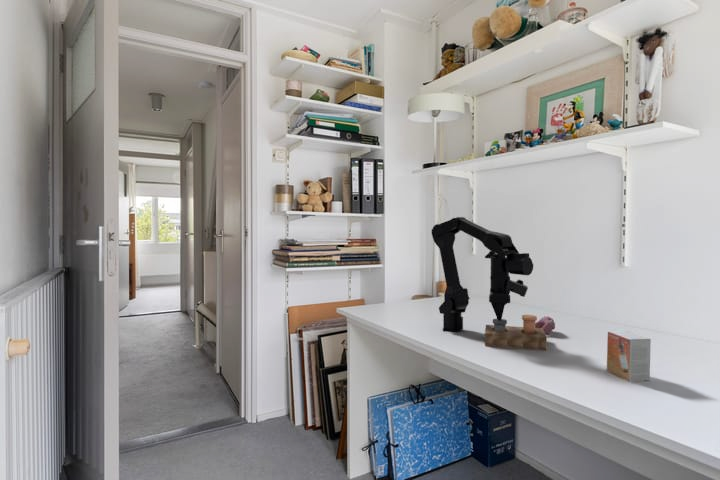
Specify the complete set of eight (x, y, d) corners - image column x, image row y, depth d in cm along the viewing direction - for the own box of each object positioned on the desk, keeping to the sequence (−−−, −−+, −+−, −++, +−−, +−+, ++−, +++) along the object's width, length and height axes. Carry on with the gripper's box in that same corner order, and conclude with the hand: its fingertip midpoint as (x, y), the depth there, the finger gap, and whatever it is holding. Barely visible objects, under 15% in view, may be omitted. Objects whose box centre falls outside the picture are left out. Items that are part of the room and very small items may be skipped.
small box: (606, 370, 107) (606, 330, 107) (626, 370, 108) (626, 330, 107) (628, 382, 99) (629, 339, 99) (650, 381, 100) (651, 338, 99)
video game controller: (549, 341, 141) (559, 323, 140) (537, 334, 142) (546, 316, 141) (542, 333, 151) (552, 317, 150) (531, 327, 152) (540, 311, 151)
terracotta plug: (522, 336, 131) (522, 317, 130) (521, 333, 135) (521, 314, 135) (537, 337, 129) (537, 318, 129) (536, 334, 133) (536, 315, 133)
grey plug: (492, 340, 134) (492, 321, 133) (492, 336, 138) (492, 318, 138) (506, 341, 132) (506, 322, 132) (506, 337, 136) (506, 319, 136)
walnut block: (484, 345, 131) (484, 333, 131) (485, 336, 142) (485, 324, 142) (546, 350, 125) (546, 337, 125) (542, 340, 136) (542, 328, 136)
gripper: (528, 276, 123) (527, 328, 123) (524, 270, 141) (524, 315, 141) (489, 275, 127) (489, 325, 127) (490, 269, 144) (490, 313, 145)
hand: (499, 320), depth 135 cm, fingers closed, pressing on grey plug
